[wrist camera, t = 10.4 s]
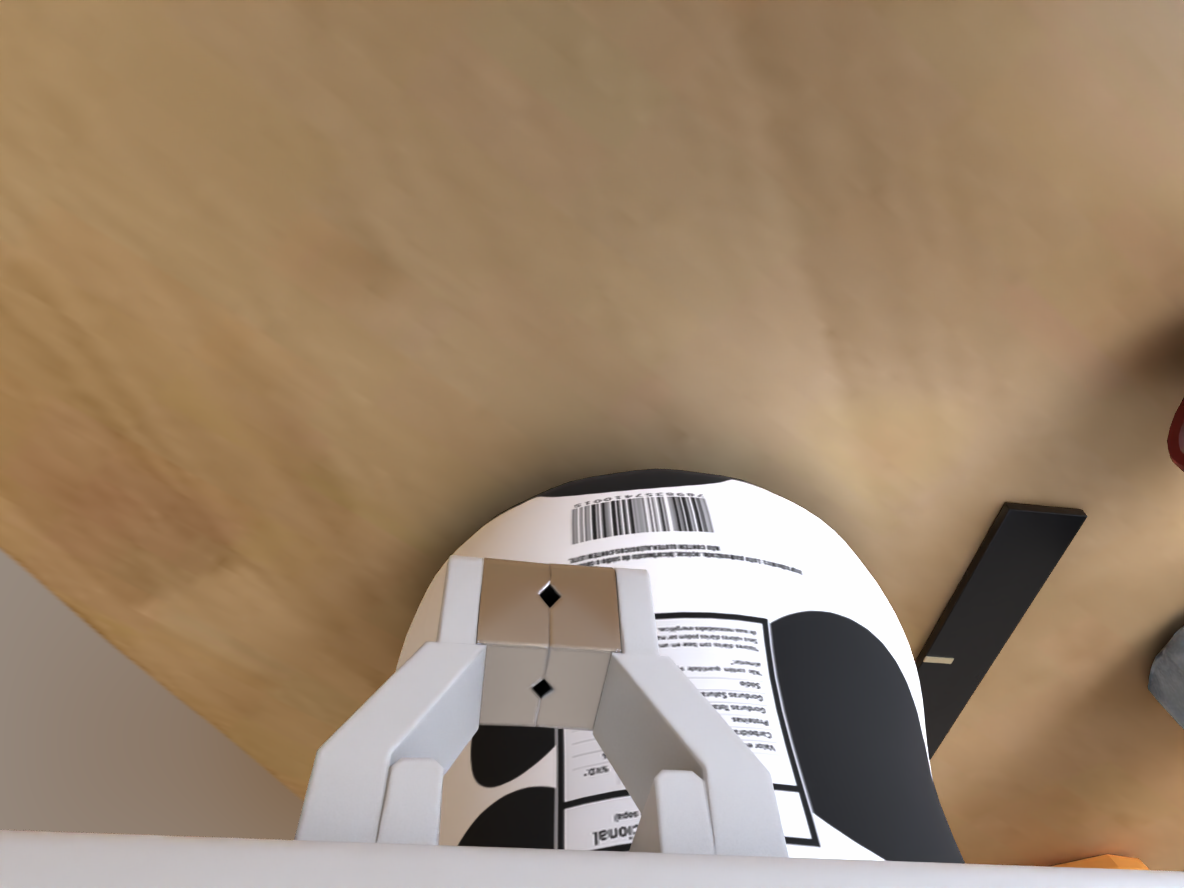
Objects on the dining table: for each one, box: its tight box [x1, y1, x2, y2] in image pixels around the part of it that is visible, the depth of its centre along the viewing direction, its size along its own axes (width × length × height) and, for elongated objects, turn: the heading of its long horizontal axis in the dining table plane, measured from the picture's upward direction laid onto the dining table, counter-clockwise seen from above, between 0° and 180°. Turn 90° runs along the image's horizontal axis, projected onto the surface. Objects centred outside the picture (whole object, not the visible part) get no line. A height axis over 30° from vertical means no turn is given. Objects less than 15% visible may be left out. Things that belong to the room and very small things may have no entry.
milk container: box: [396, 469, 965, 864], centre depth 25 cm, size 17×17×18 cm
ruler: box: [915, 503, 1087, 761], centre depth 37 cm, size 26×3×1 cm, turn 172°
